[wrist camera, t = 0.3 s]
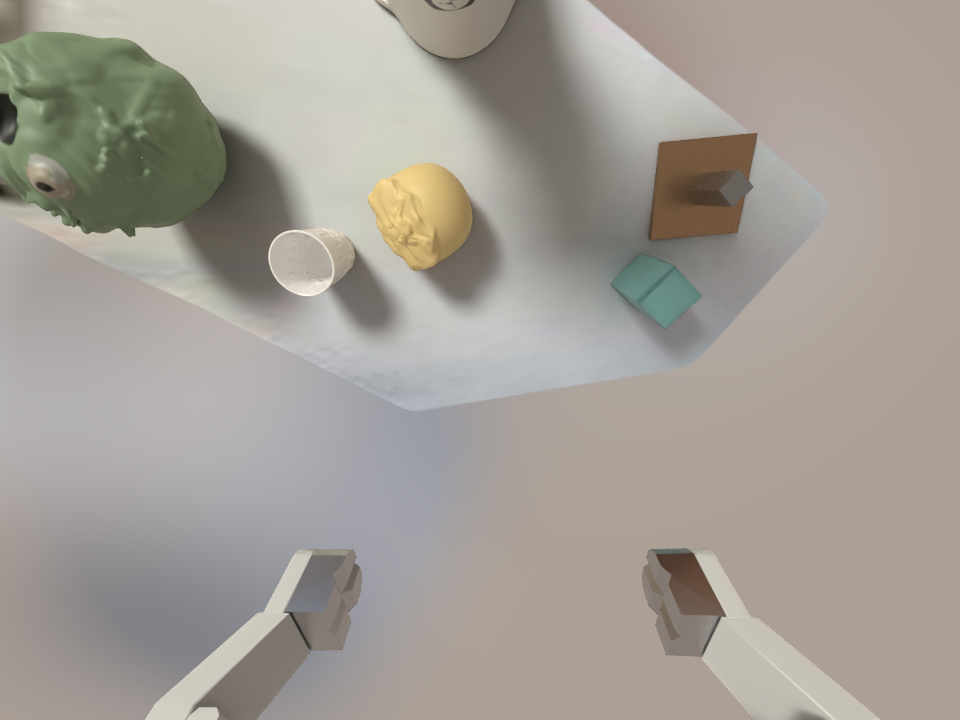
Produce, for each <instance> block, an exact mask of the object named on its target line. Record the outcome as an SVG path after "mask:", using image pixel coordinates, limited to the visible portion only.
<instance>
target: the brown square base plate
mask: <svg viewBox="0 0 960 720" xmlns="http://www.w3.org/2000/svg"><path fill="white" fill-rule="evenodd" d="M756 139H757V133H752V134H742V135H732V136H721V137H711V138H701V139H690V140H680V141H670V142H661V143H659V148H658V158H657V167H656V176H655V186H654V195H653V204H652V213H651V223H650V232H649V240H656V239H668V238H679V237H691V236H702V235H714V234H725V233H737V231H738V226H739V222H740V217H741V212H742V207H743V202H744V197H745V195H746V194H747V193H748V192H749V191H750V190H751V189H752V188H753V186H752V184H751V183H750V182H749V180H748V178H749V173H750V168H751V163H752V158H753V153H754V148H755V143H756Z"/></svg>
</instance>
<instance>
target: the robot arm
mask: <svg viewBox="0 0 960 720" xmlns="http://www.w3.org/2000/svg"><path fill="white" fill-rule="evenodd" d="M376 1H377V2H379V3H380V4H381V5H383V6H384V7H386V8H387V9H389V10H390V11H392V12H393V13H394V14H395V15H396V17H397V18H398V19H399V21H400V22H401V24H402V25H403V27H404V28H405V30H406V31H407V32H408V34H409V35H410V36H411V37H412V38H413V39H414V40H415V41H416V42H417V43H418V44H419V45H420V46H421V47H423V48H424V49H426V50H427V51H429V52H431V53H433V54H435V55H438V56H441V57H445V58H463V57H467V56H470V55H473V54H475V53H477V52H479V51H481V50H482V49H484V48H485V47H486V46H488V45H489V44H490V43H491V42H492V41H493V40H494V39H495V38H496V36H497V35H498V34H499V33H500V31H501V30H502V28H503V26H504V25H505V23H506V21H507V19H508V17H509V14H510V12H511V10H512V8H513V5H514V3H515V2H516V0H376ZM646 558H647V560H648V563H649V564H647V565H646V566H645V567H644V568H643V573H642V582H643V589H644V593H645V597H646V600H647V602H648V605H649V607H650V608H651V609H652V610H653V611H654V612H655V613H656V614H657V615H658V618H657V621H656V628H657V630H658V633H659V636H660V639H661V642H662V644H663V647H664V650H665V652H666V655H677V656H699V657H701V656H702V660H703V661H704V662H705V663H706V664H707V666H708V667H709V668H710V669H711V670H712V671H713V673H714V674H715V675H716V676H717V677H718V678H719V679H720V681H721V682H722V683H723V684H724V685H725V686H726V687H727V689H728V690H729V691H730V692H731V693H732V694H733V696H734V697H735V698H736V699H737V700H738V701H739V703H740V704H741V705H742V706H743V707H744V708H745V709H746V711H747V712H748V713H749V714H750V715H751V716H752V717H753V719H754V720H880V719H879V718H878V717H876V716H875V715H874V714H873V713H872V712H870V711H869V710H868V709H867V708H866V707H865V706H863V705H862V704H861V703H860V702H858V701H857V700H856V699H855V698H854V697H853V696H851V695H850V694H849V693H848V692H847V691H845V690H844V689H843V688H842V687H841V686H839V685H838V684H837V683H835V682H834V681H833V680H832V679H831V678H830V677H828V676H827V675H826V674H825V673H824V672H822V671H821V670H820V669H819V668H818V667H816V666H815V665H814V664H813V663H811V662H810V661H809V660H808V659H807V658H806V657H804V656H803V655H802V654H801V653H800V652H798V651H797V650H796V649H795V648H794V647H792V646H791V645H790V644H789V643H787V642H786V641H785V640H784V639H783V638H782V637H780V636H779V635H778V634H777V633H775V632H774V631H773V630H772V629H771V628H769V627H768V626H767V625H766V624H765V623H764V622H762V621H761V620H760V619H759V618H758V617H751V616H750V615H749V613H748V611H747V610H746V608H745V606H744V604H743V603H742V601H741V599H740V597H739V596H738V594H737V592H736V591H735V589H734V587H733V585H732V584H731V582H730V580H729V579H728V577H727V575H726V573H725V572H724V570H723V568H722V567H721V565H720V563H719V561H718V560H717V558H716V556H715V555H714V553H712V551H711V550H709V549H687V548H682V549H650V550H649V551H648V553H647V556H646ZM355 560H356V555H355V552H354V550H319V549H300V550H298V551H297V552H296V554H295V555H294V556H293V558H292V559H291V561H290V563H289V565H288V567H287V569H286V571H285V573H284V575H283V576H282V578H281V580H280V582H279V584H278V586H277V588H276V590H275V592H274V593H273V595H272V597H271V599H270V601H269V603H268V605H267V607H266V609H265V611H264V612H262V613H261V612H260V613H257V614H256V615H255V616H254V617H253V618H252V619H250V620H249V621H248V622H247V623H246V624H245V625H244V626H242V627H241V628H240V629H239V630H238V631H237V632H236V633H235V634H233V635H232V636H231V637H230V638H229V639H228V640H227V641H225V642H224V643H223V644H222V645H221V646H220V647H219V648H218V649H216V651H214V652H213V653H212V654H211V655H210V656H209V657H207V658H206V659H205V660H204V661H203V662H202V663H201V664H200V665H199V666H197V667H196V668H195V669H194V670H193V671H192V672H191V673H189V674H188V675H187V676H186V677H185V678H184V679H183V680H182V681H180V682H179V683H178V684H177V685H176V686H175V687H174V688H172V689H171V690H170V691H169V692H168V693H167V694H166V695H165V696H163V697H162V698H161V699H160V700H159V701H158V702H157V703H156V704H155V705H154V707H153V708H152V710H151V711H150V713H149V714H148V716H147V718H146V719H145V720H257V718H258V717H259V716H260V715H261V713H262V712H263V711H264V710H265V708H266V707H267V706H268V705H269V703H270V702H271V701H272V700H273V699H274V697H275V696H276V695H277V694H278V692H279V691H280V690H281V689H282V687H283V686H284V685H285V683H287V681H288V680H289V679H290V678H291V676H292V675H293V674H294V673H295V671H296V670H297V669H298V668H299V667H300V665H301V664H302V663H303V662H304V660H305V659H306V658H307V657H308V655H309V654H310V651H315V650H342V649H343V646H344V642H345V639H346V636H347V633H348V630H349V627H350V624H351V619H350V616H349V611H350V610H351V609H352V608H353V607H354V606H355V605H356V604H357V602H358V598H359V595H360V591H361V584H362V572H361V569H360V567H359V566H358V565H357V564H355V563H354V562H355Z"/></svg>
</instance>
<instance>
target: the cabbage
mask: <svg viewBox="0 0 960 720" xmlns="http://www.w3.org/2000/svg"><path fill="white" fill-rule="evenodd" d="M226 165H227V162H226V149H225V144H224V142H223V140H222V138H221V135H220V132H219V129H218V123H217V121H216V120H215V118H214V116H213V115H212V114H211V113H210V112H209V110H208V109H207V108H206V107H205V105H204V104H203V103H202V101H201V99H200V98H199V96H198V94H197V93H196V91H195V89H194V88H193V87H192V85H191V84H190V83H189V82H188V80H187V79H186V78H185V77H184V76H183V75H181V74H180V73H178V72H177V71H175V70H174V69H172V68H170V67H168V66H167V65H165V64H162V63H160V62H158V61H157V60H155V59H154V58H152V57H151V56H150V55H149V54H148V53H146V52H145V51H144V50H143V49H142V48H141V47H140V46H139V45H137V44H136V43H134V42H132V41H130V40H127V39H121V38H96V37H91V36H85V35H80V34H74V33H64V32H32V33H29V34H26V35H24V36H22V37H20V38H18V39H16V40H14V41H11V42H8V43H3V44H0V183H1V184H7V185H10V186H12V187H13V188H14V189H15V190H16V191H17V192H19V193H20V194H21V196H22V199H23V200H24V201H26V202H27V203H36V204H37V205H38V206H39V207H41V208H42V209H44V210H46V211H51V213H52V216H58V215H61V216H62V223H63V224H64V225H66V226H72V227H75V226H79V227H81V230H82V231H83V232H84V233H86V234H89V233H91V232H96V233H108V232H110V231H112V230H114V229H117V228H120V229H121V230H122V231H123V232H124V233H126V234H127V235H128V236H129V237H132V236H135V228H138V227H153V228H161V227H167V226H172V225H175V224H177V223H179V222H181V221H183V220H184V219H186V218H187V217H189V216H190V215H191V214H192V213H193V212H194V211H195V210H197V209H198V208H199V207H201V206H202V205H203V204H205V203H206V202H207V201H208V200H209V199H210V198H211V197H212V196H213V195H214V194H215V192H216V190H217V189H218V187H219V185H220V184H221V183H222V182H223V181H224V175H225V173H226V170H227V166H226Z"/></svg>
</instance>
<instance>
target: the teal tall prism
mask: <svg viewBox="0 0 960 720" xmlns="http://www.w3.org/2000/svg"><path fill="white" fill-rule="evenodd" d="M610 284H611V285H612V286H613V287H614V288H615V289H616V290H617V291H618V292H619V293H620V294H621V295H623V296H624V297H625V298H626V299H627V300H628V301H629V302H630V303H631V304H632V305H633V306H634V307H635V308H636V309H638V310H639V311H640V312H642V313H643V314H645V315H646V316H647V317H649V318H650V319H652V320H653V321H654V322H656V323H657V324H658V325H660V326H661V327H663V328H664V329H666V328H667V327H668V326H669V325H670V324H671V323H673V322H674V321H675V320H676V319H677V318H678V317H679V316H680V315H682V314H683V313H684V312H685V311H686V310H687V309H688V308H689V307H691V306H692V305H693V304H694V303H695V302H696V301H697V300H698V299H700V298H701V297H702V295H701V294H700V293H699V292H698V291H697V290H696V289H695V287H694V286H693V285H692V284H691V283H690V282H689V281H688V280H687V279H686V278H685V277H684V276H683V275H682V274H681V273H680V272H679V270H678V269H677V268H676V267H675V266H674V265H671V264H668V263H665V262H663V261H660V260H657V259H654V258H651V257H649V256H646V255H643V254H639V255H638V256H637V257H636V258H635V259H634V260H633V261H632V262H631V263H630V264H629V265H628V266H627V267H626V268H625V269H624V270H623V271H622V272H621V273H620V274H619V275H618V276H617V277H616V278H615V279H614V280H613V281H612V282H611V283H610Z"/></svg>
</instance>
